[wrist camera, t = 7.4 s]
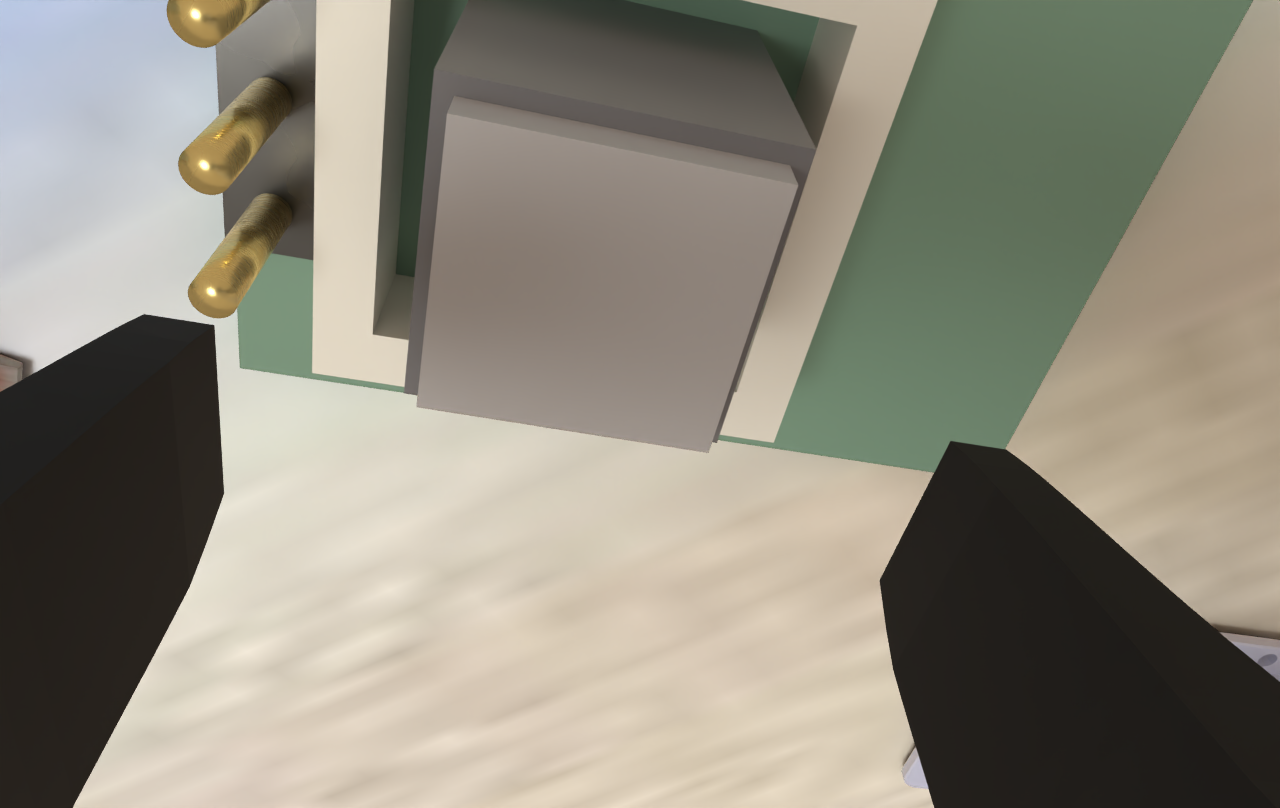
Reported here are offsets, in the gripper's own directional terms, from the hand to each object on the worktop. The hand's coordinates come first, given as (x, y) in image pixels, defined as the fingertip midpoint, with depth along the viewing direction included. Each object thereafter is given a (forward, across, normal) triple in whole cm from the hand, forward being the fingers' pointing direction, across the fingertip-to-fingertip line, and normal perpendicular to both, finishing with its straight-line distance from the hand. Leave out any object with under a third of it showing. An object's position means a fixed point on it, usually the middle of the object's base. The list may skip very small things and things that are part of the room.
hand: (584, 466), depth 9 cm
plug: (+9, 0, 0) cm, 9 cm away
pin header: (+9, +5, 0) cm, 10 cm away
